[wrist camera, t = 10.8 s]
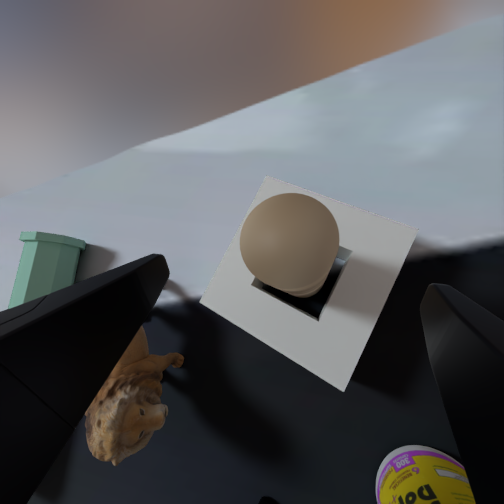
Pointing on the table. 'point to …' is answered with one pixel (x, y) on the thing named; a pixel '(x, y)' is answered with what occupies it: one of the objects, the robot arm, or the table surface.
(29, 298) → the container
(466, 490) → the supplement bottle
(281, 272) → the peg
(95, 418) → the lion figurine
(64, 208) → the table surface
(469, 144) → the table surface
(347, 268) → the socket
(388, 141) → the table surface
